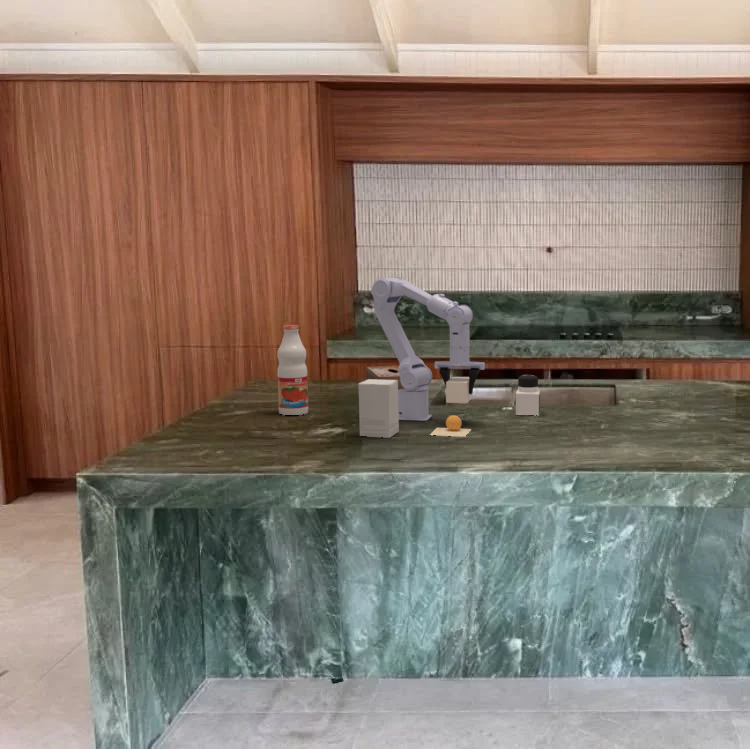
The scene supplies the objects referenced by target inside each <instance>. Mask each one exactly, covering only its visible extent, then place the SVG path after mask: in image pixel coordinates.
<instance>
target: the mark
mask: <svg viewBox="0 0 750 749" xmlns="http://www.w3.org/2000/svg"><path fill="white" fill-rule="evenodd" d="M471 431H472V428H459V429H458V430H456V431H451V430H449V429H448V428H447V427H436V428H435V429H434V430H433V431H432V432H431V433H430V434H429V437H430V435H431V436H433V435H436V436H435V437H448V436H451V437H450V438H452V437H453V438H455V437H456V438H466V437H467V436H468V435H469V434H470V432H471ZM467 434H468V435H467ZM466 435H467V436H466ZM433 437H434V436H433Z"/></svg>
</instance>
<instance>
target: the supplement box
mask: <svg viewBox="0 0 750 749" xmlns="http://www.w3.org/2000/svg"><path fill="white" fill-rule="evenodd" d="M357 385H358V410H359V411H358V414H359V415H358V416H359V421H358V422H359V437H360V436H367V437H366V438H381V437H383V438H384V439H390V438H391V437H393V436H394V435H396V434H397V433H399V432H400V426H399V421H400V420H399V417H398V380H377V379H368V380H367V379H366V380H364V381H361V382H359V383H357ZM383 438H382V439H383Z"/></svg>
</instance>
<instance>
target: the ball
mask: <svg viewBox="0 0 750 749" xmlns="http://www.w3.org/2000/svg"><path fill="white" fill-rule="evenodd" d="M445 425H446V428H448V429H449V430H451V431H456V430H458V429H461V427H462V420H461V418H460V417H459V416H458V415H456V414H455V415H450V416H448V417H447V418H446V420H445Z"/></svg>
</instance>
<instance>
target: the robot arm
mask: <svg viewBox="0 0 750 749" xmlns="http://www.w3.org/2000/svg"><path fill="white" fill-rule="evenodd" d="M372 284H373V285H372V287H371V291H370V293H371V296H372V297H373V307H374V308H373V309H374V313H375V316H376V317H377V320H378V322H379V324H380V326H381V328H382V331H383V332H384V334H385V336H386V338H387V340H388V342H389V344H390V346H391V348H392V350H393V352H394V354H395V356H396V358H397V360H398V364H399V365H398V366H399V368H398V372H399V375H400V382H401V385H402V386H403V387H404V389H399V390H398V417H399V421H401V420H402V421H420V422H421V421H423V422H425V421H426V422H427V421H428V420H430V418H431V417H432V416H433V414H429V386H430V384H431V383H432V381H433V373H432V370H431V369H430V368H429V367H428V366H427V365H425V362H424V361H423V360H422V359H421V358H420V357H418V356H417V355H416V353H415V350H414V349H413V347H412V345H411V343H410V341H409V339H408V337H407V335H406V333H405V330H404V329H403V326H402V325H401V322H400V321H399V319H398V316H397V315H396V312H395V308H396V306H397V303H398V302H399V301H400V299H401V298H402V297H403V296H404V297H407V298H409V299H410V300H411V299H412V300H413V301H415V302H418V303H420V304H422V305H425V306H427V307H426V308H427V311H428V312H430V313H431V314H433V315H435V316H437V317H439V318H441V319H443V320H445V321H446V323H447V324H448V326H449V360H448V361H447V360H445V361H443V360H441V361H435V362H434V369H437V370H438V369H439V371H438V372H439V375H440V376H441V378H442V380H443V384H444V387H445V388H446V382H447V381H448V380H449V379H450V378H451V372H452V371H451V369H452V370H453V369H454V370H468V377H469V394H472V395H473V394H474V393H473V392H474V386H475V383H476V380H477V378H478V376H479V373H480V372H481V371H482V370H483V371H484V370H486V369H485V368H486V366H485V365H486V363H485V362H484V361H483V362H482V361H481V362H480V361H470V323H471V322H472V320H473V319H474V318H473V317H474V314H473V310H472V309H471V307H470V306H468V305H467V304H461V305H459V302H458V301H456V300H455V301H452V300H451V299H449V298H447V297H446V295H445V294H444V293H436V294H433V295H431V294H430V293H428V292H426V291H425V290H423V289H421V288H419V287H418V286H416V285H415V284H413V283H411V282H409V281H408V280H406V279H402V278H401V277H399V276H393V277H378V278H377V279H376V280H375V281H374V282H373V283H372Z"/></svg>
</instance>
